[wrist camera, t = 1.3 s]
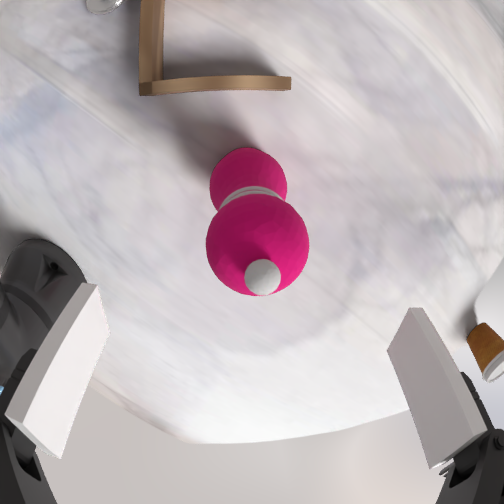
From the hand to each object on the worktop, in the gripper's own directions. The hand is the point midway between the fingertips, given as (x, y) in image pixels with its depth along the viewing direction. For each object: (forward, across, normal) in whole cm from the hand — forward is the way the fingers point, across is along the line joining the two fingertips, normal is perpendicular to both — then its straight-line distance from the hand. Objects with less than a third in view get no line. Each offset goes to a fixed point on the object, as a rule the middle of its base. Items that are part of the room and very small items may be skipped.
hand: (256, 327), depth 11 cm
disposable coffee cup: (+26, -54, +27) cm, 66 cm away
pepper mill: (+23, +1, 0) cm, 23 cm away
